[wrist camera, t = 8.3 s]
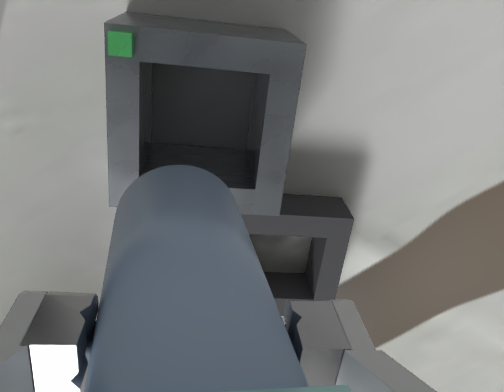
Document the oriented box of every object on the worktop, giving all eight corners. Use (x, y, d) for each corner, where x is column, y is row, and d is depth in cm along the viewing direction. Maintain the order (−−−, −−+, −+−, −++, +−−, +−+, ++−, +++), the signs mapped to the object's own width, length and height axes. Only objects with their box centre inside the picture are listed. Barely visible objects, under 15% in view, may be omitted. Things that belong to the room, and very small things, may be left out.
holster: (341, 197, 31) (354, 218, 29) (321, 290, 35) (330, 317, 32) (226, 190, 30) (228, 211, 28) (217, 286, 34) (218, 314, 31)
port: (285, 29, 26) (309, 46, 20) (266, 172, 30) (281, 221, 24) (126, 12, 25) (101, 24, 19) (127, 163, 29) (106, 212, 23)
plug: (251, 168, 15) (407, 448, 6) (237, 274, 16) (341, 626, 7) (108, 160, 14) (20, 485, 5) (107, 273, 15) (39, 683, 6)
